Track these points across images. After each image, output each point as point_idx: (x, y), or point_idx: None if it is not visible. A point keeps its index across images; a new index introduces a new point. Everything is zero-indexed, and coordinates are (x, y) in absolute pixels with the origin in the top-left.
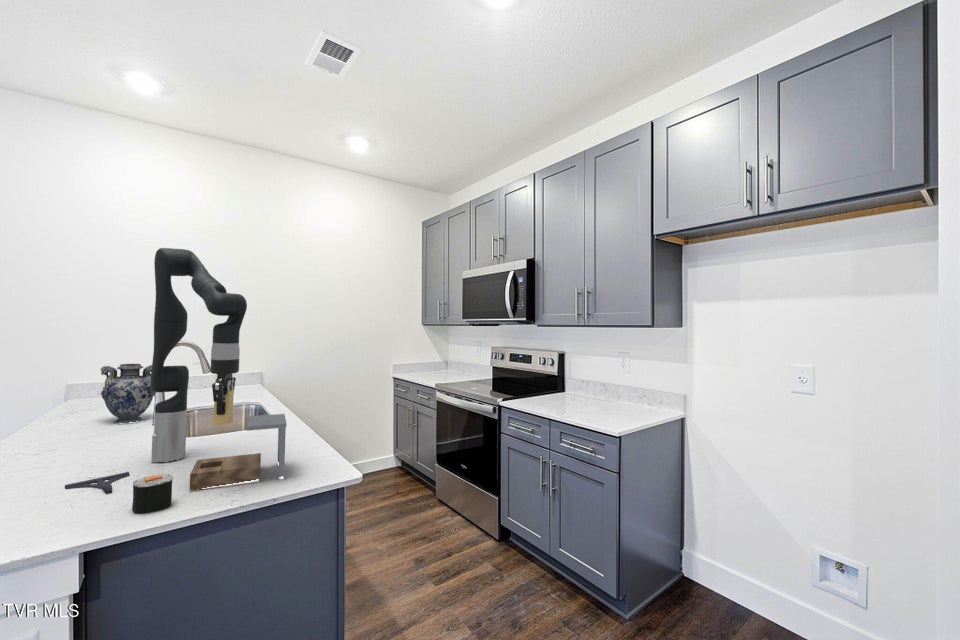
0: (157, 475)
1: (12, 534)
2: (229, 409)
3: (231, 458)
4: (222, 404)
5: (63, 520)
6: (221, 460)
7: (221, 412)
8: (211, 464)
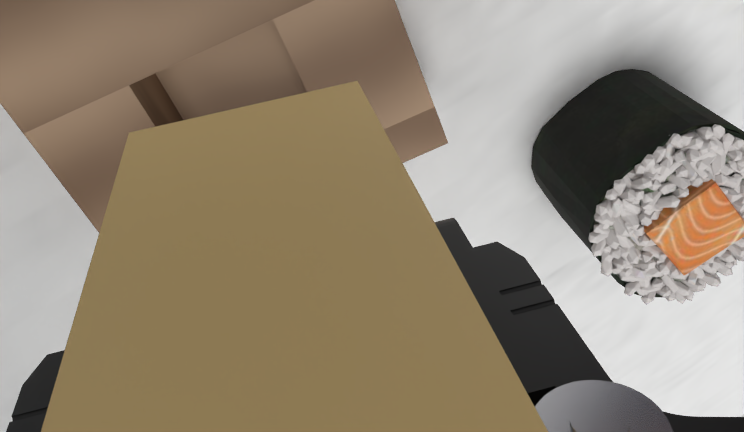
0: (668, 229)
1: (736, 413)
2: (371, 213)
3: (49, 45)
4: (601, 371)
5: (665, 368)
6: (123, 100)
7: (514, 263)
8: None
